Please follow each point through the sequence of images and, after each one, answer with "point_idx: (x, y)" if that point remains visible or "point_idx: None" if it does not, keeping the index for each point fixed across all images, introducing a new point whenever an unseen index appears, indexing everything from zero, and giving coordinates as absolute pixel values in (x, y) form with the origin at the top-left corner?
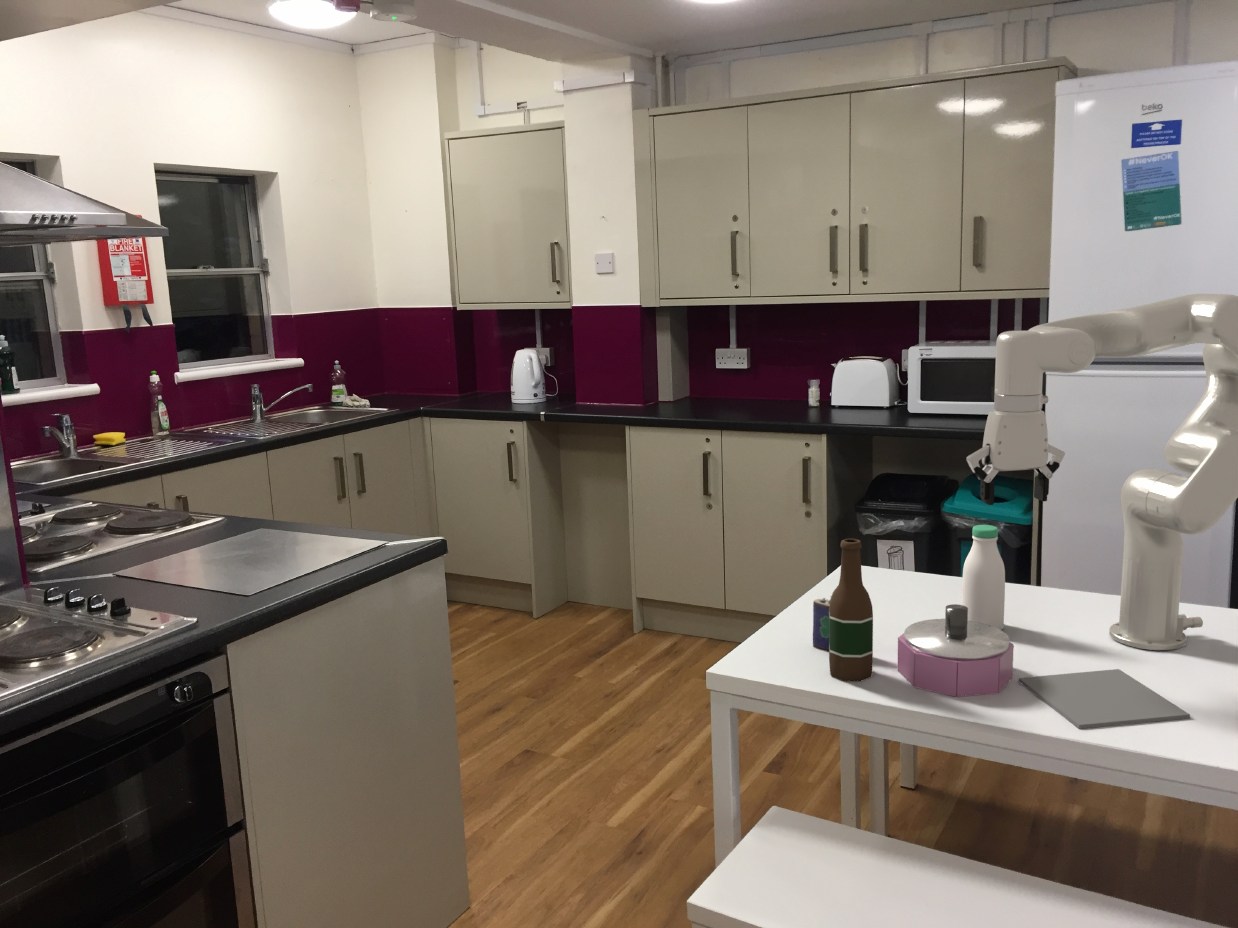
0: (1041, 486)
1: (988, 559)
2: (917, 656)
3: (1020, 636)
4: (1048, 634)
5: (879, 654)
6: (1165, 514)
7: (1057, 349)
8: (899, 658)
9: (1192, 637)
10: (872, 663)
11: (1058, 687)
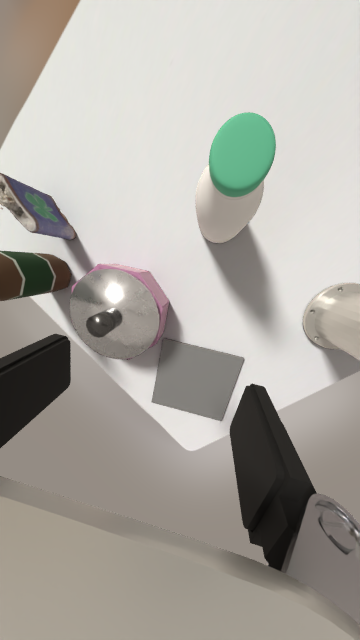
0: (242, 474)
1: (218, 215)
2: None
3: (235, 260)
4: (264, 267)
5: (91, 245)
6: None
7: None
8: None
9: None
10: (59, 288)
11: (177, 362)
